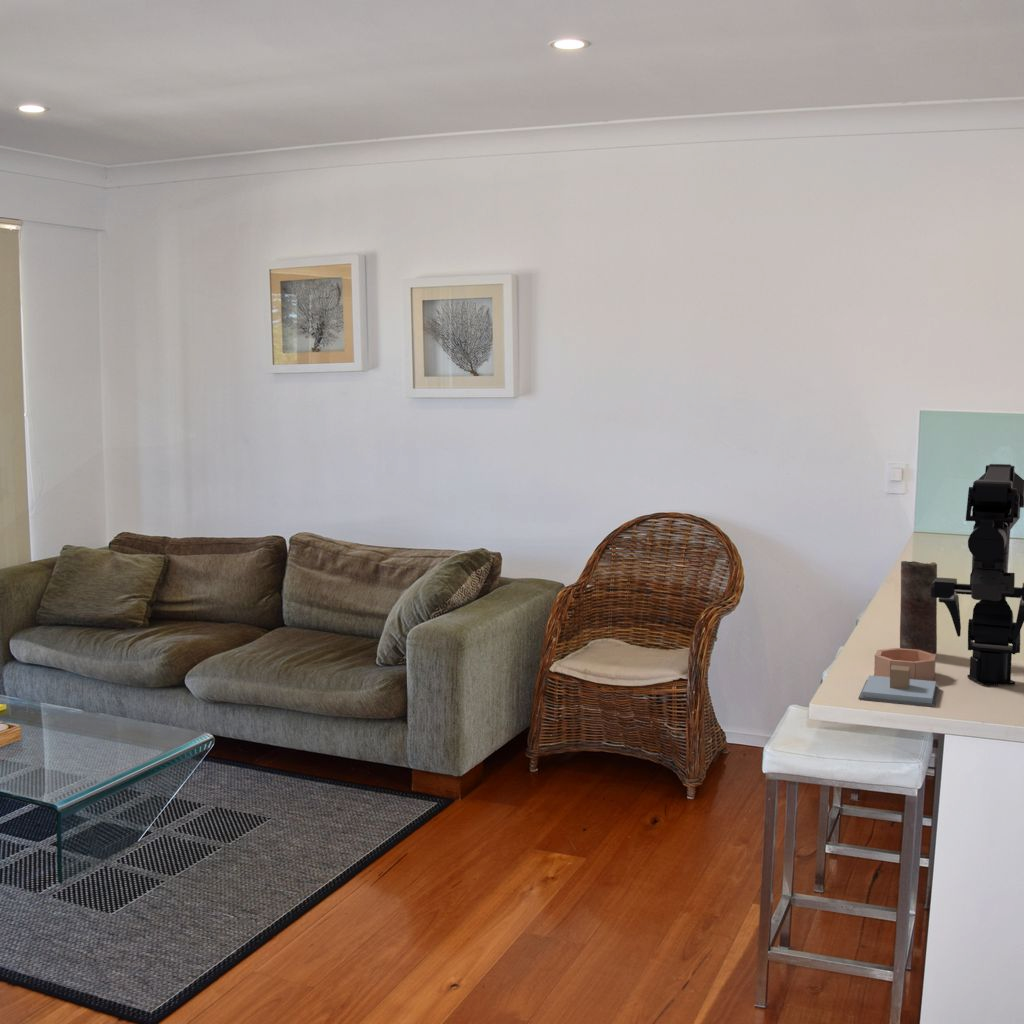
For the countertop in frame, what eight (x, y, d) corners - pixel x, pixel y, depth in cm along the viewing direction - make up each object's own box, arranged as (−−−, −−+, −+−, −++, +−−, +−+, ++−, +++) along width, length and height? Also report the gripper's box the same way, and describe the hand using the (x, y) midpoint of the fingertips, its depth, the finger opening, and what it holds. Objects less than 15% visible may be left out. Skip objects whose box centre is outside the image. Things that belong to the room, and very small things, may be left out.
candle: (891, 652, 237) (893, 559, 235) (919, 648, 240) (921, 557, 237) (915, 660, 230) (918, 565, 228) (944, 656, 233) (947, 562, 230)
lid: (869, 680, 214) (869, 657, 214) (935, 686, 209) (936, 663, 209) (862, 696, 203) (862, 672, 203) (932, 703, 198) (932, 679, 198)
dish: (878, 665, 226) (878, 646, 226) (936, 670, 222) (936, 651, 221) (872, 679, 216) (873, 659, 216) (932, 684, 212) (933, 664, 211)
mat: (866, 681, 215) (866, 679, 215) (938, 688, 210) (938, 686, 210) (858, 699, 203) (858, 697, 203) (934, 707, 198) (934, 704, 198)
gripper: (929, 555, 193) (926, 643, 195) (1048, 562, 185) (1044, 653, 187) (935, 546, 203) (932, 630, 205) (1048, 552, 195) (1044, 639, 197)
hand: (986, 638), depth 198 cm, fingers open, 9 cm apart
